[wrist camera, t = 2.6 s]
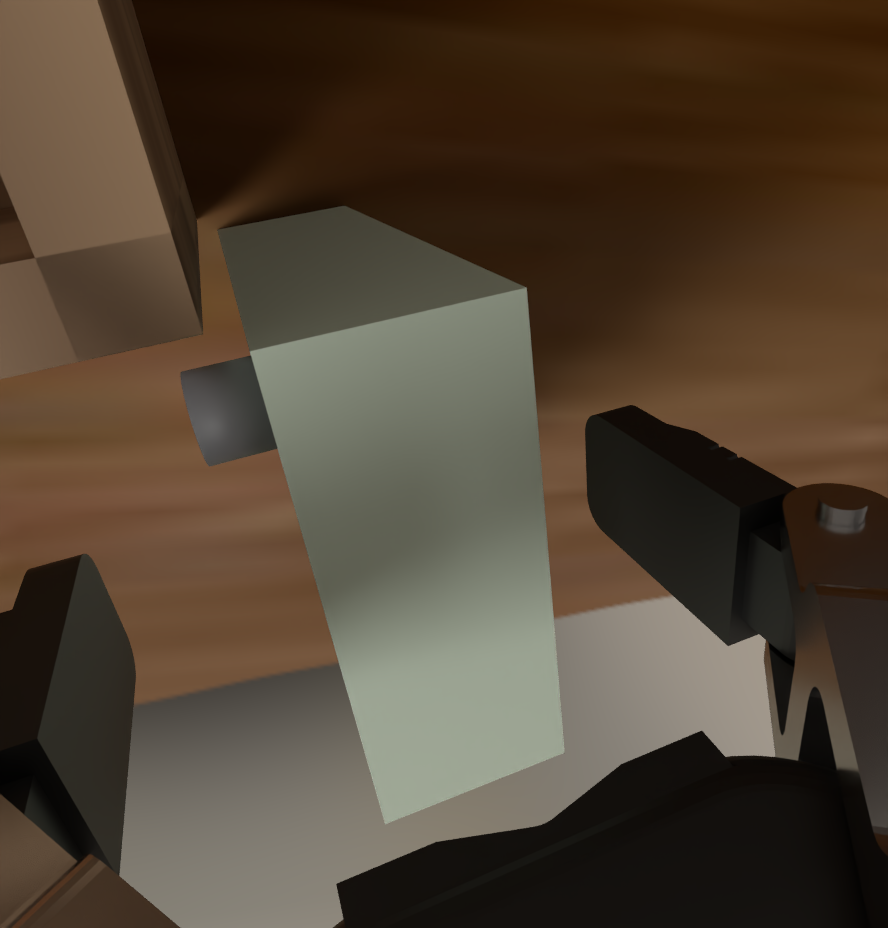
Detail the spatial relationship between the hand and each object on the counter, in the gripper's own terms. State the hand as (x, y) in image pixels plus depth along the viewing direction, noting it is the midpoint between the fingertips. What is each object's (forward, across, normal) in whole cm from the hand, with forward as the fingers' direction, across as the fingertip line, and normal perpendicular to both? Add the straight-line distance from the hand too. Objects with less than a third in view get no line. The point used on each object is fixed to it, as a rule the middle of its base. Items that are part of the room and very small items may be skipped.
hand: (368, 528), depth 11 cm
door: (+9, -1, 0) cm, 9 cm away
